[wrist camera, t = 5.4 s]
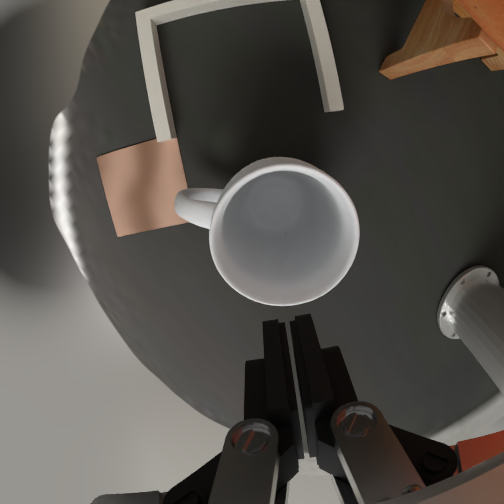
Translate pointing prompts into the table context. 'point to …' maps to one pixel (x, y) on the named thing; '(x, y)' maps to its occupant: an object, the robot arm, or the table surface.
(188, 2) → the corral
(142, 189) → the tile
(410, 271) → the table surface
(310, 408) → the robot arm
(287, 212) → the mug
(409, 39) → the planter
